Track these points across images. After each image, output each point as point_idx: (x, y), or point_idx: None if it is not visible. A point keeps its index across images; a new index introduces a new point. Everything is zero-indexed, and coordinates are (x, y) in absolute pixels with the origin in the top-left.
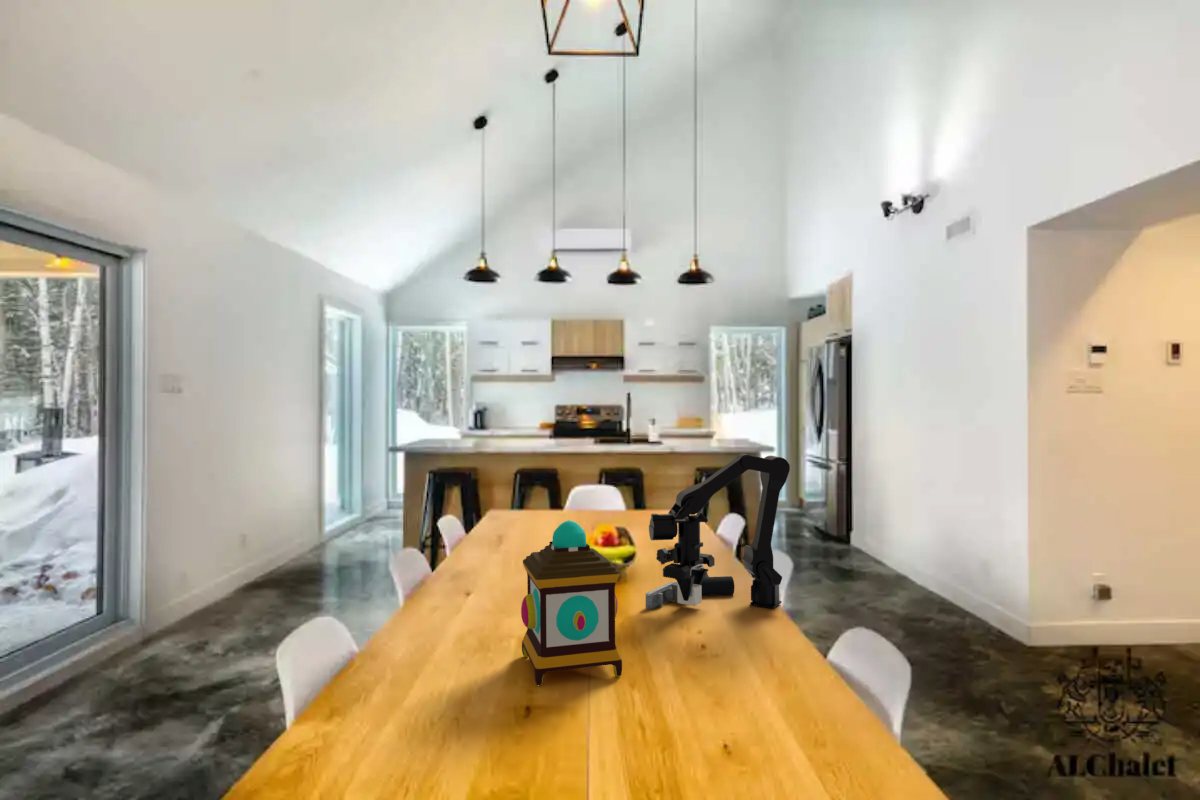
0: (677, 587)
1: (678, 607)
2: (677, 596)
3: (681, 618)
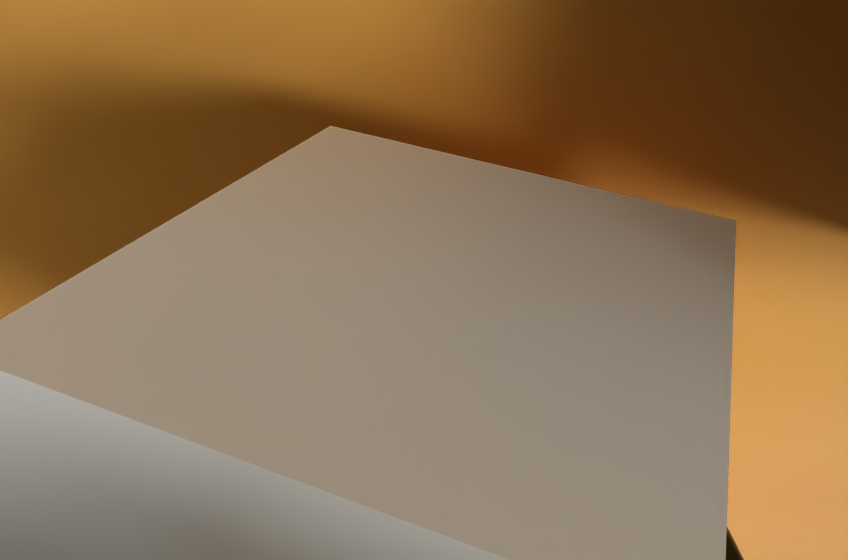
0: (14, 316)
1: (476, 85)
2: (236, 181)
3: (5, 281)
